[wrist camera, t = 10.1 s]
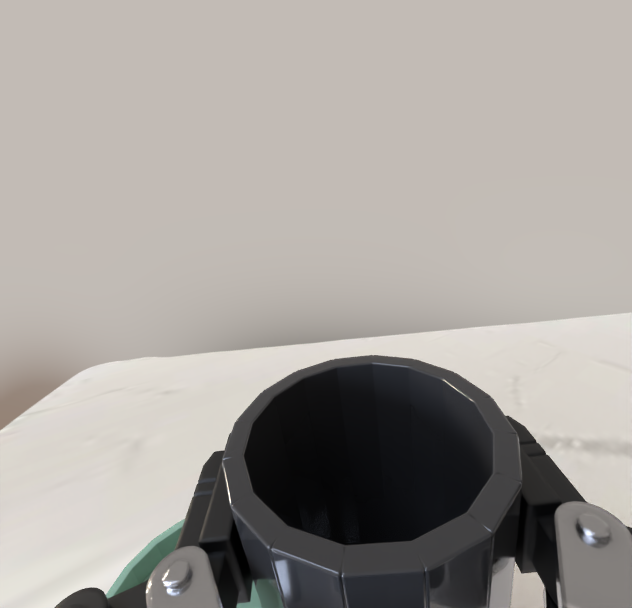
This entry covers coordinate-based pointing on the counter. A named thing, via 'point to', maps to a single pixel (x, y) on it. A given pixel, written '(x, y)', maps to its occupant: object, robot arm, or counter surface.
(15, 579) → the counter surface
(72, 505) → the counter surface
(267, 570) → the cup
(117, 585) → the bowl
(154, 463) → the counter surface
